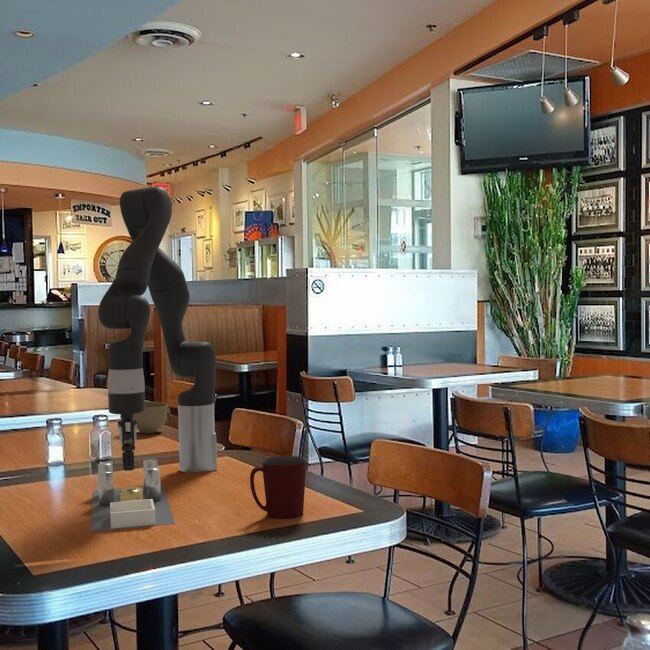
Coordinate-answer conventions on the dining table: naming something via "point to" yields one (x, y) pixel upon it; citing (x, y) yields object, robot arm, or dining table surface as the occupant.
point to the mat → (102, 513)
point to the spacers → (150, 482)
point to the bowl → (151, 417)
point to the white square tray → (132, 513)
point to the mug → (282, 486)
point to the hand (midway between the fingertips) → (128, 466)
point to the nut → (131, 494)
